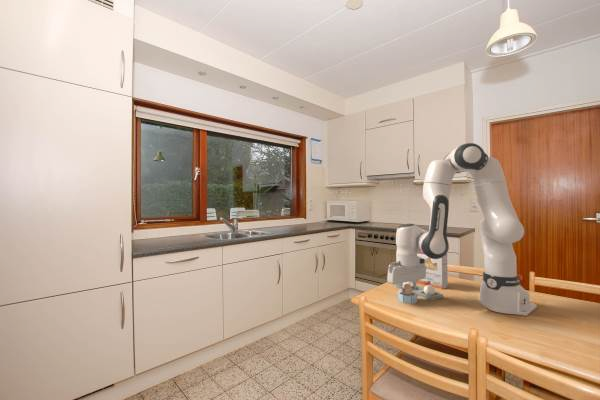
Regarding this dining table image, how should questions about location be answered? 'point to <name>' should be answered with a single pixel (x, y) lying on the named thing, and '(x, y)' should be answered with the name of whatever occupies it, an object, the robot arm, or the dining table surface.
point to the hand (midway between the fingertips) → (407, 291)
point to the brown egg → (407, 289)
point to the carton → (421, 293)
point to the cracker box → (435, 272)
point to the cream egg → (429, 290)
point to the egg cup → (407, 298)
